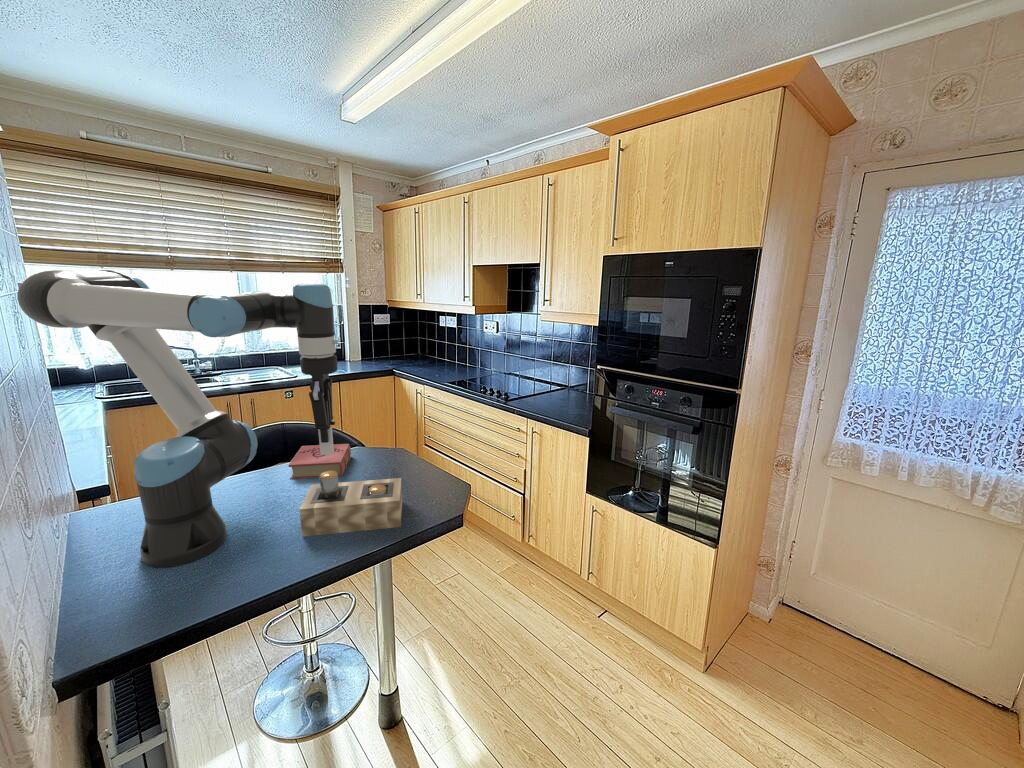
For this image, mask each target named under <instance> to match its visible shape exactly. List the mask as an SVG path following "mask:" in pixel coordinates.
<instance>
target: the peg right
mask: <svg viewBox="0 0 1024 768" xmlns="http://www.w3.org/2000/svg"><path fill="white" fill-rule="evenodd" d="M384 494H386V487H385V486H384V485H374V486H372V487H370V488H369V496H372V495H384Z"/></svg>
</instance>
